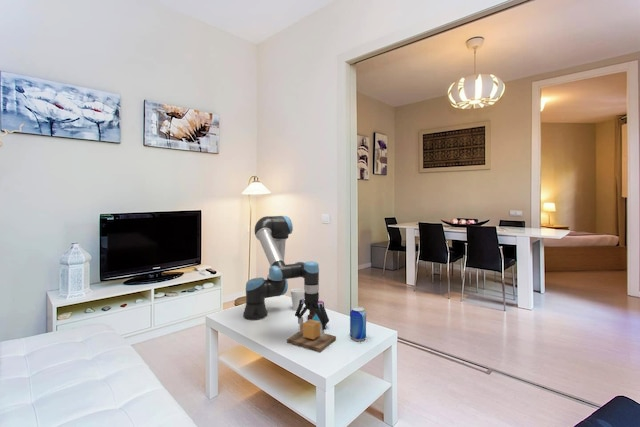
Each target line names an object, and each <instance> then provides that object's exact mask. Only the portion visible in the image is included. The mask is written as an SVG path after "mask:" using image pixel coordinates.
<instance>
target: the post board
mask: <svg viewBox="0 0 640 427" xmlns="http://www.w3.org/2000/svg"><path fill="white" fill-rule="evenodd" d="M336 340H337V336H336V335H332V334H328V333H325V332H324V335H323V336H322V337H321V336H320V335H319V336H318V337H316V338H315V339H314V340H313V339H310V338H306V337H303V330H301V331H298V332H296V333H294V334H293V335H292V336H290V337H288V338H286V343H287V344H289V345H293V346H297V347H301V348H302V349H303V348H304V349H306V350H309V351H314V352H317V353H322V352H323V351H324V350H325V349H326V348H328V347H329V346H330V345H332V344H333V343H334V342H335V341H336Z"/></svg>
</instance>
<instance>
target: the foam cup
mask: <svg viewBox="0 0 640 427" xmlns="http://www.w3.org/2000/svg"><path fill="white" fill-rule="evenodd" d="M304 293H305V291H304V288H301V287H300V288H291V289H290V296H291V305H292V309H293V311H295V312H296V311H297V308H298V306H299V301H300V300H301V299H304ZM304 300H305V299H304ZM303 309H304V306H303V307H302V309H301V311H302V310H303Z"/></svg>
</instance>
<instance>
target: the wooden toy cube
mask: <svg viewBox="0 0 640 427" xmlns="http://www.w3.org/2000/svg"><path fill="white" fill-rule="evenodd" d="M319 335H320V322H319V321H315V320H311V319H310V320H308V319H307V320H306V321H303V337H306V338H310V339H313V340H314V339H315V338H316V337H318V336H319Z"/></svg>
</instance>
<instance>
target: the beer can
mask: <svg viewBox="0 0 640 427" xmlns="http://www.w3.org/2000/svg"><path fill="white" fill-rule="evenodd" d="M349 336H350V338H351V340H353V341H355V342H363V341H365V339H366V337H367V312H366V310H365V308H364V307H363V306H352V308H351V310H350V312H349Z"/></svg>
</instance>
